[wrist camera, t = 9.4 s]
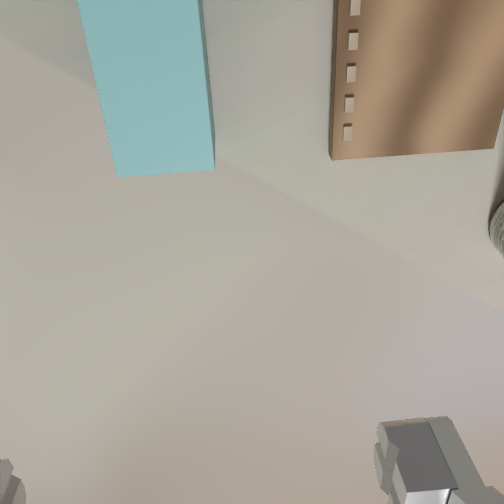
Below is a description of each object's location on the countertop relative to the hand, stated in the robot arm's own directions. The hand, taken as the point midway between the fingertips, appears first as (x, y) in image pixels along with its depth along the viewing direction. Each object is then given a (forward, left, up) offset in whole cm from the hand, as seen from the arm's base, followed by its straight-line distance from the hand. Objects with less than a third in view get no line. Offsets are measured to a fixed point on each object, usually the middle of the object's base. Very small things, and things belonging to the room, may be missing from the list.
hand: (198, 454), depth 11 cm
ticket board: (+14, +4, -27) cm, 31 cm away
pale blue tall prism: (-3, +4, -27) cm, 27 cm away
